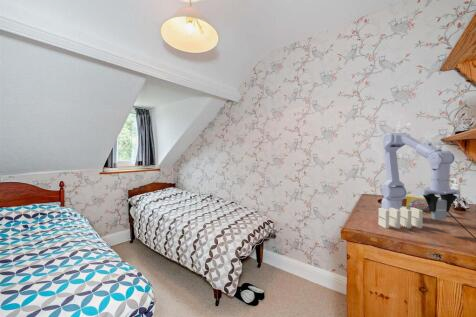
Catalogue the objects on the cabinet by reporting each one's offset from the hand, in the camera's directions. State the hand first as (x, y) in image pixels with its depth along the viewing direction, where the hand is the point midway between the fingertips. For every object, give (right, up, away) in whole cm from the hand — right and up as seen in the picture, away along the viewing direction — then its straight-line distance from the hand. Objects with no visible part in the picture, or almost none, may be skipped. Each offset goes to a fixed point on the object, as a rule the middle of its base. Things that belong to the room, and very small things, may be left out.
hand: (438, 211), depth 92 cm
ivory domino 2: (-13, -9, +8) cm, 18 cm away
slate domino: (0, -3, 0) cm, 3 cm away
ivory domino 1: (-18, -9, +9) cm, 22 cm away
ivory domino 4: (-3, -9, +8) cm, 12 cm away
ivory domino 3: (-8, -9, +8) cm, 15 cm away
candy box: (+18, -8, +28) cm, 35 cm away
